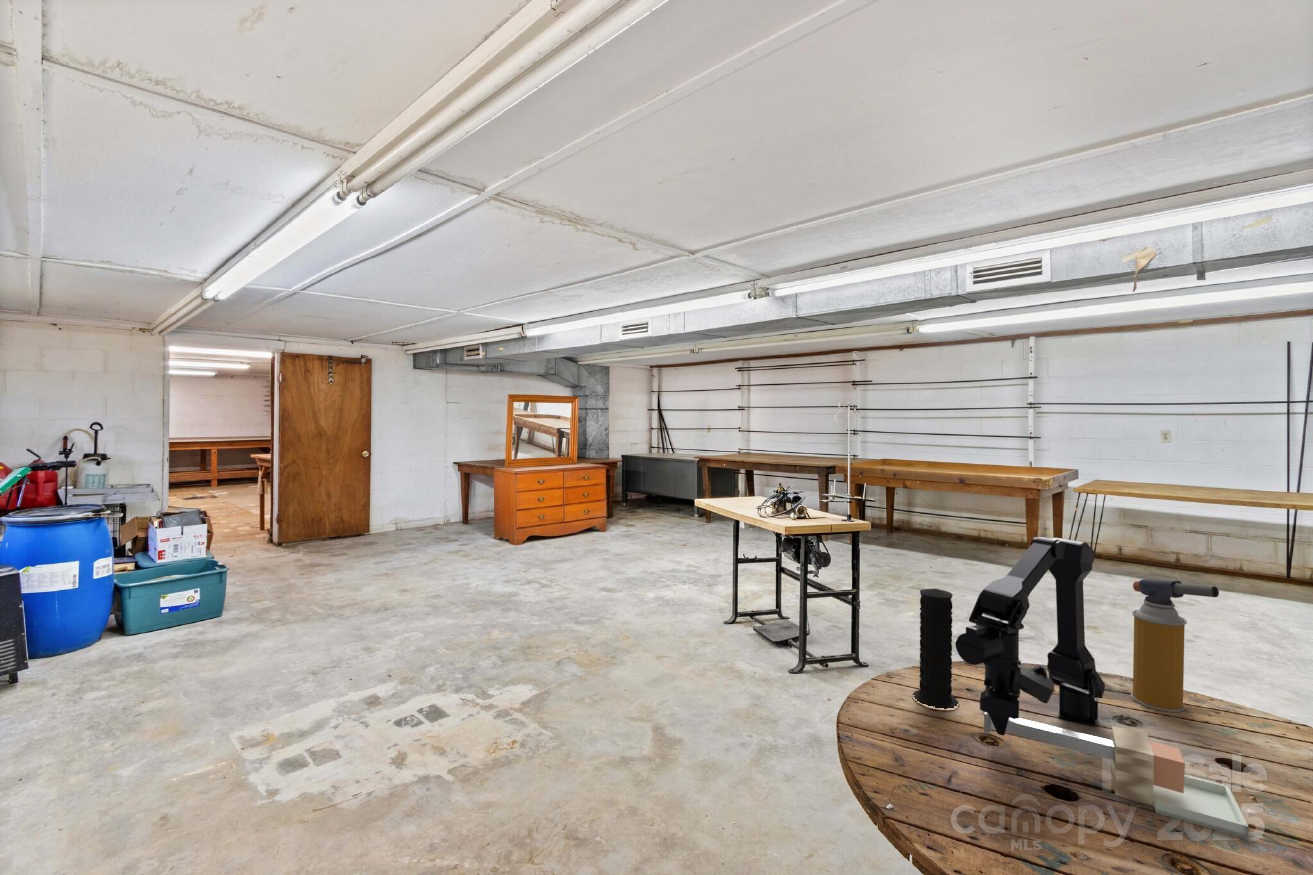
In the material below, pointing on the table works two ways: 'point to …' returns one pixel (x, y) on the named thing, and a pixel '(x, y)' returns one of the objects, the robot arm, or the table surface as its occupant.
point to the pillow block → (1132, 765)
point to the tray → (1202, 806)
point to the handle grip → (935, 649)
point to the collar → (1168, 767)
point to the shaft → (1056, 736)
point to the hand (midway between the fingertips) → (1001, 731)
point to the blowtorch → (1161, 643)
